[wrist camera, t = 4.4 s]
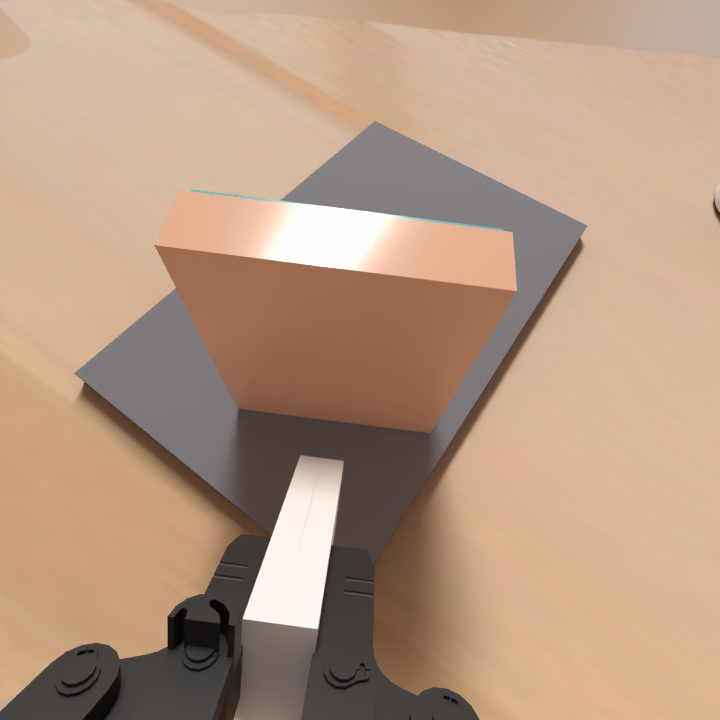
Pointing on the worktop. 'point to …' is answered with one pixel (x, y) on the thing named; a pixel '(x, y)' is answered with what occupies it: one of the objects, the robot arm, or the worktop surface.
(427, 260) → the tile
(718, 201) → the supplement bottle
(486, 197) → the mat
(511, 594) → the worktop surface
